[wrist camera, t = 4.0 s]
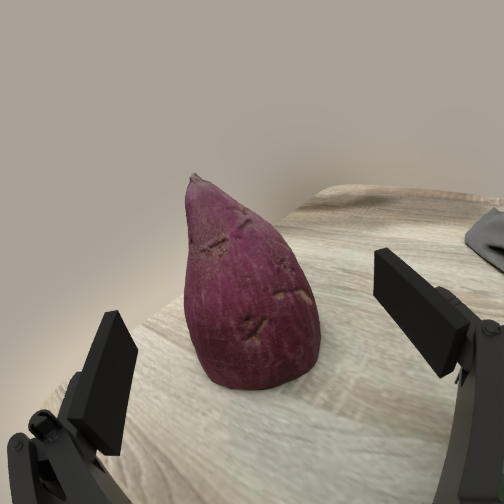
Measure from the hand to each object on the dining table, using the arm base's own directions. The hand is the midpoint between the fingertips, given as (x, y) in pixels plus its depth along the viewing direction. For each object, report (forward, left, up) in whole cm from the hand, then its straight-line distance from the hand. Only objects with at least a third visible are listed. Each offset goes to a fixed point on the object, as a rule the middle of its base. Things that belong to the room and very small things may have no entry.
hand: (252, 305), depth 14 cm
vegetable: (0, +6, -8) cm, 10 cm away
